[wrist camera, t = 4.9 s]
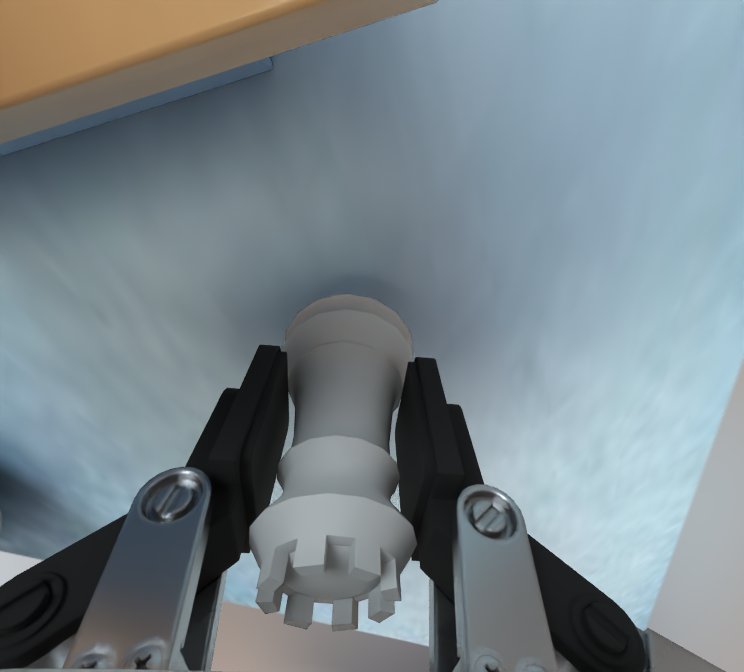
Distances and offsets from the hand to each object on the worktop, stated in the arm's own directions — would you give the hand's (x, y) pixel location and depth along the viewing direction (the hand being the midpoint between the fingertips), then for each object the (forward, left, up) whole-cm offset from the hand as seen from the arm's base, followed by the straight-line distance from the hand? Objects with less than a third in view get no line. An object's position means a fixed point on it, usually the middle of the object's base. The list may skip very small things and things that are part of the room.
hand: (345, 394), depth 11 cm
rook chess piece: (0, 0, -3) cm, 3 cm away
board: (+10, -11, +4) cm, 16 cm away
